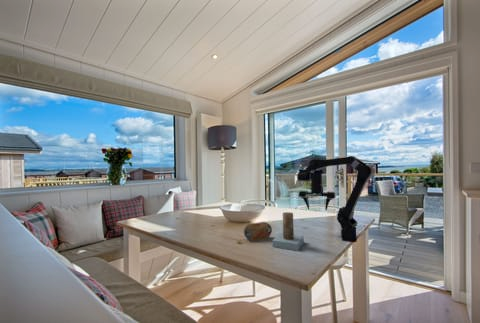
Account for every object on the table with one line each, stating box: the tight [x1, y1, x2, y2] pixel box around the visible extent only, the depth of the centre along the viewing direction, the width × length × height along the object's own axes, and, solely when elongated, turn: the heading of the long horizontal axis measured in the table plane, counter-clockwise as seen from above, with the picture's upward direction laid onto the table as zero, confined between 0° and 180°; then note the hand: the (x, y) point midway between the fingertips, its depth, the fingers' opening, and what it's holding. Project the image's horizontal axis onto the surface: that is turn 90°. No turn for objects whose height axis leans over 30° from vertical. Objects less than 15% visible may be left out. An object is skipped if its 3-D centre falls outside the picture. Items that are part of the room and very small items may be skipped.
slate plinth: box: [272, 232, 305, 251], centre depth 113 cm, size 12×12×3 cm
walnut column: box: [282, 211, 295, 240], centre depth 113 cm, size 5×5×12 cm
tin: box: [243, 221, 273, 241], centre depth 122 cm, size 15×3×8 cm, turn 105°
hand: (317, 209), depth 128 cm, fingers open, 9 cm apart
